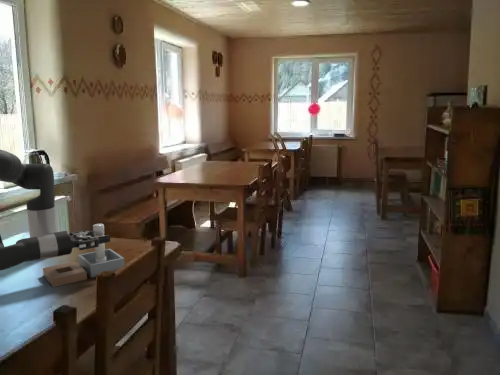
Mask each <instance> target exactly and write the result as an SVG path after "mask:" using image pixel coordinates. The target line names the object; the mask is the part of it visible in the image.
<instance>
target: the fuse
mask: <svg viewBox="0 0 500 375" xmlns="http://www.w3.org/2000/svg"><path fill="white" fill-rule="evenodd" d="M92 231H93V234H94V237H100V236H105V225H104V223H96V224H93V225H92ZM105 244H106V243H102V244H99V247H95V251H94V252H96V257H95V260H96V263H100V262H105V261H106V256H105V250H106V246H105Z"/></svg>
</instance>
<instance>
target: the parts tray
mask: <svg viewBox="0 0 500 375" xmlns="http://www.w3.org/2000/svg"><path fill="white" fill-rule="evenodd" d="M105 256H106V261H105V262H100V263H96V260H95V257H96V251H92V252H87V253H83V254H82V253H81V254H78V255H77V257H78V258H77V260H78V264H79V265H80V266H81V267H82V268H83V269H84V270H85V271H86V272H87V276H89V277H90V278H96V277H97V276H96V275H98V274H99V273H101V272H103V271H116V270H117V269H119V268H120V267H122V266H124V265H125V264H126V263H125V261H126V260H125V257H123V256H122V255H121V254H119V253H118V252H116V251H114V250H113V249H112V248H105ZM125 266H126V265H125Z"/></svg>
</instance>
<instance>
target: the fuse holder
mask: <svg viewBox="0 0 500 375" xmlns="http://www.w3.org/2000/svg"><path fill="white" fill-rule="evenodd" d="M42 274H43V277H44V278H45V279H46V280H47V282H48V283H49V284H50V285H51V286H52V287H53V288H55V287H60V286H63V285H68V284H73V283H76V282H81V281H86V280H88V274H87V272H86V271H85V270H84V269H83V268H82V267H81V266H80V265H79V263H78V262H76V261H71V262H66V263H61V264H60V263H59V264H57V265H50V266H46V267H43V268H42Z"/></svg>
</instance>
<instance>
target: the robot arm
mask: <svg viewBox="0 0 500 375" xmlns="http://www.w3.org/2000/svg"><path fill="white" fill-rule="evenodd" d="M0 182H5V183H9V184H10V183H12V184H14V185H16V186H18V187H20V188H22V189H25V190H35V191H36V190H39V195H38V196H36V197H33V198H31V199H29V200H27V201H26V204H25V205H26V214H27V223H28V231H29V232H28V233H29V237H26V238H25V237H24V238H21V239H19V240H17V241H16V242H15V243H14V244H10V245H7V246H5V245H4V242H3V238H2V236H1V234H0V271H4V270H8V269H11V268H13V267H15V266H18V265H21V264H24V263H27V262H33V261H37V260H47V259H52V258H58V257H62V256H67V255H71V254H72V252H73V248H74V249H75V248H76V249H78V250H79V251H84V250H88V249H94V248H95V247H99V244H102V243H105V244H106V243H110V242H111V236H110V235H109V234H107V235H104V236H100V237H94V234H93V230H91V231H90V230H85V229H84V230H79V231H78V230H77V231H72V232H69V231H67V230H63V231H58V226H57V217H56V214H57V213H56V207H55V200H56V197H55V196H56V195H55V174H54V169H53V167H52V166H51V164H49V163H22V161H21V159H20V158H19V157H18V156H17V155H15V154H13V153H11V152H9V151H7V150H5V149H4V150H3V149H0Z"/></svg>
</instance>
